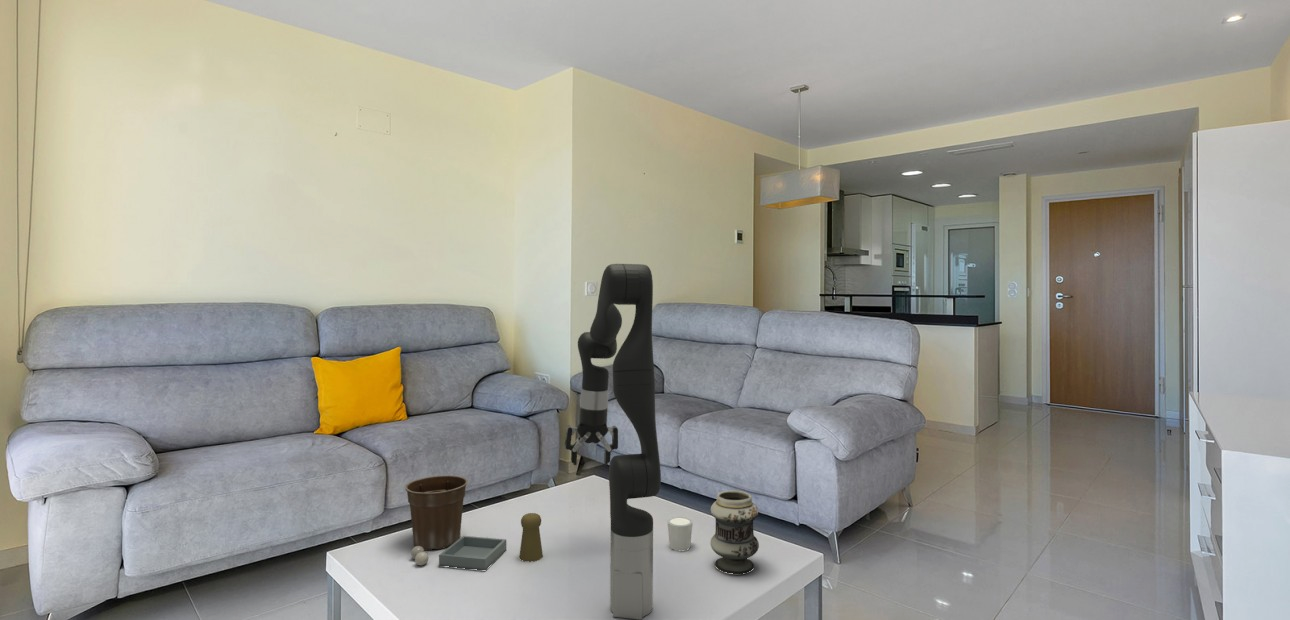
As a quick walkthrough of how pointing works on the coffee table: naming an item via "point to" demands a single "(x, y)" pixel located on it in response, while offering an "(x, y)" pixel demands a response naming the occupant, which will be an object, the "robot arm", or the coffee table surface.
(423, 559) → the pebble
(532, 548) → the cork
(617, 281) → the robot arm
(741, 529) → the apothecary jar
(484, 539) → the slate dish
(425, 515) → the plant pot
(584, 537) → the coffee table surface
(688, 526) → the white cup
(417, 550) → the pebble
